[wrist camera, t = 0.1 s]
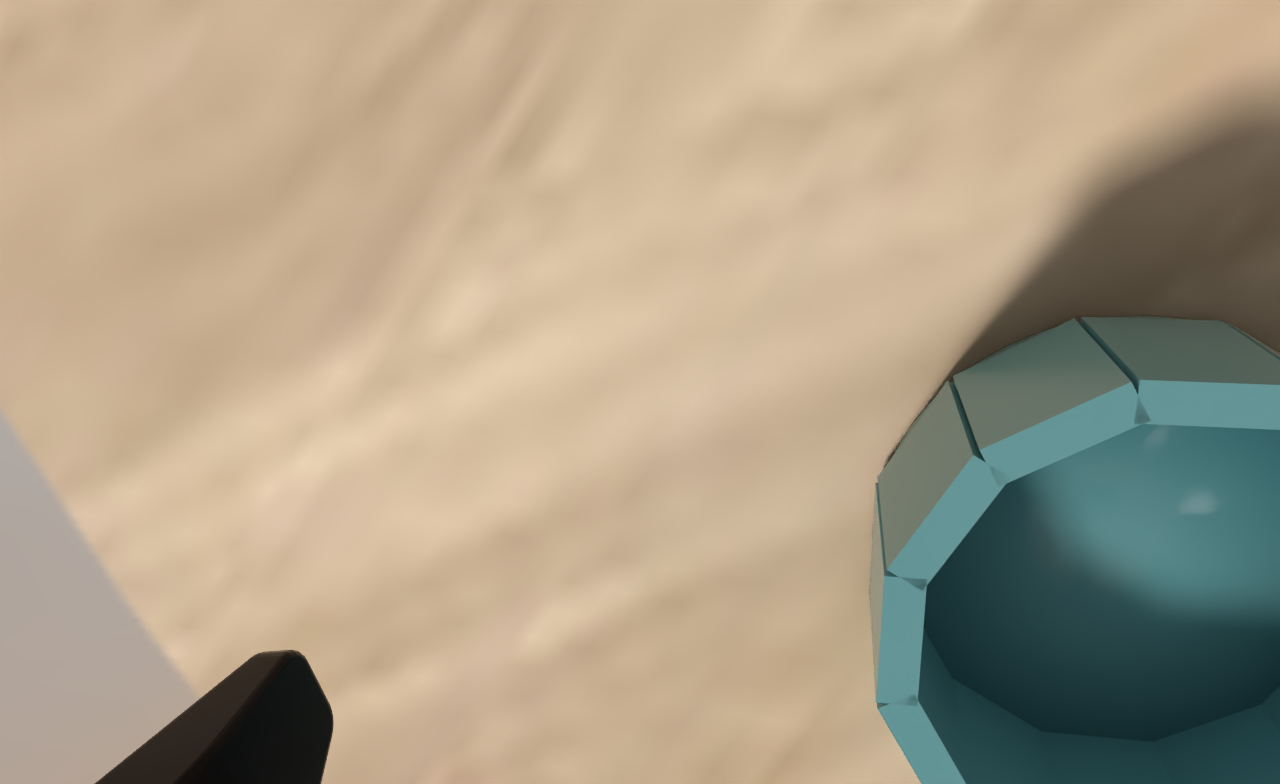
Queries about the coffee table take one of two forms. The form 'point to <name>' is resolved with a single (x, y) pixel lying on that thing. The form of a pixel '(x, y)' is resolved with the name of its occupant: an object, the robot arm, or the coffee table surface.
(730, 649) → the coffee table surface
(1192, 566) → the teal bowl
